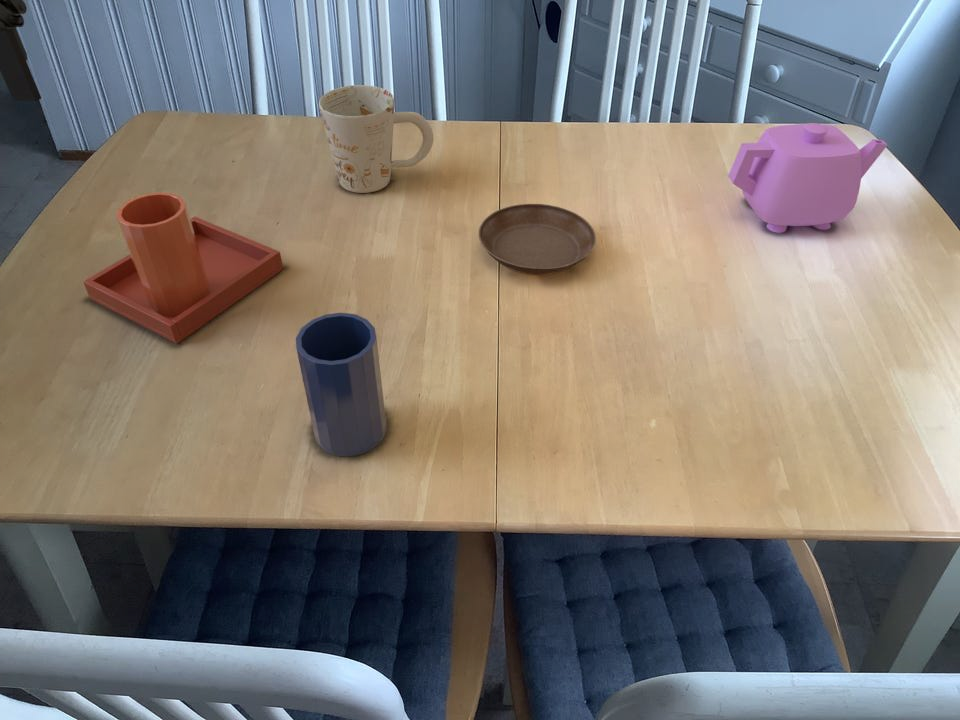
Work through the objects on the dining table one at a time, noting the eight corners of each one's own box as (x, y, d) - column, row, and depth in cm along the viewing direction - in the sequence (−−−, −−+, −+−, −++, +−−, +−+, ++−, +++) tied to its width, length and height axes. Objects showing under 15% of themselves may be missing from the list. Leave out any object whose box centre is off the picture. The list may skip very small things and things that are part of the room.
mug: (328, 167, 116) (317, 87, 108) (429, 158, 118) (426, 79, 110) (331, 201, 109) (320, 119, 101) (439, 191, 111) (437, 110, 103)
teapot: (737, 243, 101) (761, 154, 93) (706, 194, 110) (725, 109, 102) (882, 233, 103) (919, 145, 95) (839, 186, 112) (869, 101, 104)
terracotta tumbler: (177, 324, 88) (146, 233, 80) (135, 303, 91) (102, 214, 83) (223, 292, 92) (199, 204, 84) (182, 273, 95) (155, 186, 87)
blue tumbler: (355, 467, 73) (340, 375, 65) (300, 437, 76) (279, 345, 68) (400, 422, 78) (391, 329, 69) (346, 395, 80) (331, 303, 72)
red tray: (176, 344, 86) (170, 326, 84) (90, 299, 92) (82, 281, 90) (283, 269, 97) (280, 251, 95) (199, 233, 103) (194, 216, 101)
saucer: (608, 235, 103) (611, 218, 101) (570, 298, 93) (572, 279, 91) (506, 210, 107) (506, 193, 105) (459, 267, 97) (458, 249, 95)
